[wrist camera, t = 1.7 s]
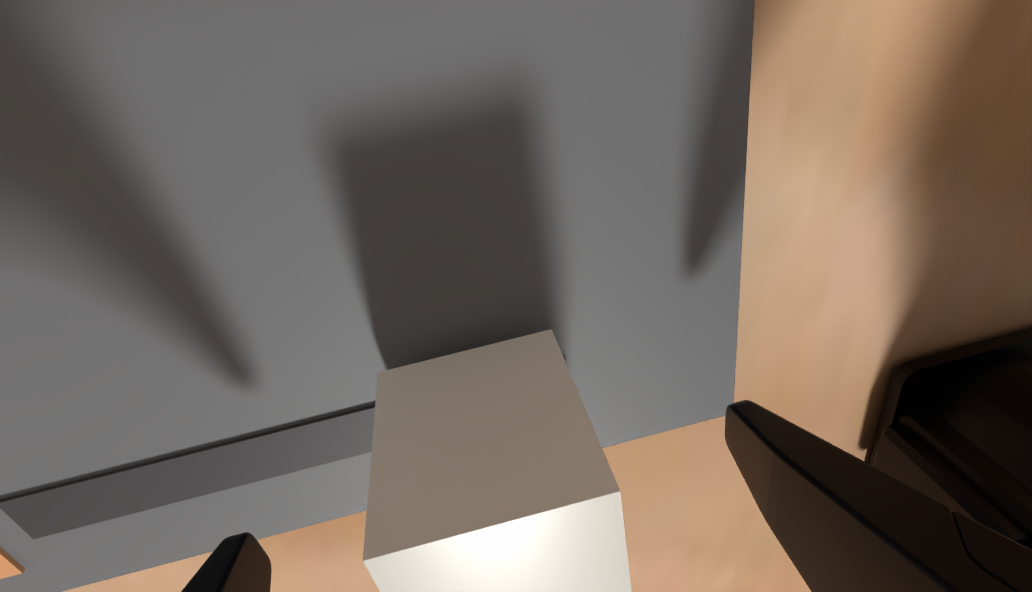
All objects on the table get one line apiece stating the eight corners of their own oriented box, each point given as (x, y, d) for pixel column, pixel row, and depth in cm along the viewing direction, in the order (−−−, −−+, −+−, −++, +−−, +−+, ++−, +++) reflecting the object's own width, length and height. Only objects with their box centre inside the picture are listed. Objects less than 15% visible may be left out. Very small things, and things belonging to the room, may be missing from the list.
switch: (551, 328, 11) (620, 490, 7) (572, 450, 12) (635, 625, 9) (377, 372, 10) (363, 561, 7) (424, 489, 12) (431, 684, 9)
